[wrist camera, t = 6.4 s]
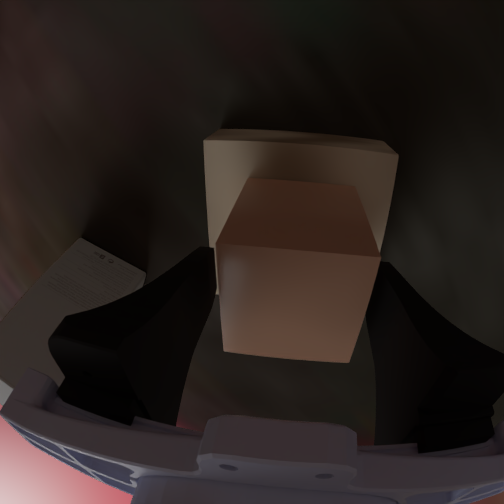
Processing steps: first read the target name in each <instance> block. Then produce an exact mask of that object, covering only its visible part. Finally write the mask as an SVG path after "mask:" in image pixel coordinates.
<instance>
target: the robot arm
mask: <svg viewBox="0 0 504 504" xmlns="http://www.w3.org/2000/svg"><path fill="white" fill-rule="evenodd" d="M216 290H217V279H216V265H215V251H214V248H212V247H199V248H197V249H196V250H195V251H193V252H192V253H191V254H189V255H188V256H187V257H186V258H184V259H183V260H182V261H180V262H179V263H178V264H176V265H175V266H174V267H172V268H171V269H170V270H168V271H167V272H165V273H164V274H162V275H161V276H159V277H158V278H157V279H155V280H154V281H152V282H150V283H149V284H147V285H145V286H144V287H142V288H140V289H138V290H136V291H135V292H133V293H131V294H128V295H126V296H124V297H122V298H120V299H117V300H115V301H113V302H110V303H108V304H105V305H102V306H99V307H96V308H93V309H90V310H87V311H83V312H79V313H75V314H71V315H66V316H65V317H64V319H63V320H62V321H61V323H60V324H59V325H58V327H57V328H56V329H55V331H54V332H53V333H52V335H51V336H50V337H49V340H48V347H49V351H50V353H51V355H52V357H53V359H54V360H55V362H56V363H57V365H58V367H59V368H60V370H61V371H62V373H63V374H64V376H65V378H64V380H63V382H62V383H61V385H60V387H58V385H57V384H56V382H55V381H54V380H53V379H52V378H51V377H49V376H48V375H46V374H44V373H41V372H39V371H37V370H34V369H32V368H27V369H26V371H25V372H24V374H23V375H22V377H21V378H20V380H19V381H18V383H17V385H16V386H15V388H14V389H13V391H12V392H11V394H10V396H9V397H8V399H7V400H6V402H5V404H4V405H3V407H2V409H1V410H0V415H1V416H2V417H3V419H5V421H7V422H8V423H9V424H10V425H11V426H12V427H13V428H14V429H15V430H16V431H17V432H18V433H19V434H20V435H21V436H22V437H23V438H24V439H26V440H27V441H28V442H29V443H30V444H31V445H33V446H35V447H36V448H38V449H40V450H41V451H43V452H45V453H47V454H48V455H50V456H52V457H54V458H56V459H57V460H59V461H61V462H63V463H65V464H67V465H69V466H70V467H72V468H74V469H76V470H78V471H80V472H82V473H84V474H86V475H88V476H90V477H92V478H94V479H96V480H99V481H101V482H103V483H105V484H107V485H109V486H112V487H114V488H116V489H119V490H121V491H124V492H126V493H128V494H131V495H133V498H132V501H131V504H469V503H472V502H475V501H478V500H481V499H484V498H487V497H490V496H493V495H496V494H498V493H501V492H503V491H504V420H503V421H501V422H500V423H498V424H497V425H496V426H495V427H494V428H493V425H492V421H491V417H492V416H493V415H494V410H493V406H492V405H493V404H494V403H495V402H496V401H497V399H498V398H499V397H500V396H501V395H502V394H503V393H504V354H503V353H501V352H499V351H497V350H495V349H493V348H490V347H488V346H486V345H484V344H483V343H481V342H479V341H477V340H476V339H474V338H472V337H471V336H469V335H467V334H466V333H464V332H463V331H462V330H460V329H459V328H457V327H456V326H454V325H453V324H452V323H450V322H449V321H448V320H447V319H445V318H444V317H443V316H442V315H441V314H439V313H438V312H437V311H436V310H435V309H434V308H432V307H431V306H430V305H429V304H428V303H427V302H426V301H425V300H424V299H423V298H422V297H421V296H420V295H419V294H418V293H417V292H416V291H415V290H414V289H413V287H412V286H411V285H410V284H409V283H408V282H407V281H406V280H405V279H404V278H403V277H402V275H401V274H400V273H399V272H398V271H397V270H396V269H395V268H394V267H393V266H392V265H391V264H390V263H389V262H382V261H380V264H379V268H378V271H377V275H376V279H375V282H374V286H373V289H372V293H371V296H370V300H369V303H368V306H367V310H366V322H367V328H368V333H369V338H370V343H371V348H372V354H373V359H374V365H375V375H376V426H375V440H374V446H357V433H356V432H354V431H353V430H351V429H349V428H348V427H346V426H344V425H339V424H332V423H321V422H303V421H289V420H278V419H268V418H259V417H251V416H243V415H221V416H218V417H215V418H212V419H209V420H208V422H207V424H206V427H205V430H204V432H199V431H194V430H189V429H185V428H180V427H176V422H177V416H178V411H179V407H180V402H181V398H182V393H183V389H184V385H185V381H186V377H187V373H188V369H189V366H190V362H191V359H192V355H193V353H194V350H195V347H196V345H197V342H198V340H199V337H200V335H201V333H202V330H203V328H204V325H205V323H206V321H207V318H208V316H209V313H210V311H211V308H212V305H213V302H214V298H215V294H216Z"/></svg>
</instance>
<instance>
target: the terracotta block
mask: <svg viewBox="0 0 504 504" xmlns="http://www.w3.org/2000/svg"><path fill="white" fill-rule="evenodd" d="M215 244H216V259H217V274H218V287H219V300H220V313H221V325H222V336H223V347H224V351H226V352H233V353H241V354H249V355H257V356H266V357H276V358H286V359H298V360H310V361H325V362H342V363H349V361H350V358H351V355H352V352H353V349H354V346H355V344H356V341H357V338H358V335H359V332H360V329H361V326H362V322H363V319H364V316H365V313H366V310H367V306H368V303H369V300H370V296H371V293H372V289H373V286H374V282H375V279H376V275H377V271H378V268H379V264H380V260H381V256H380V253H379V250H378V247H377V244H376V241H375V238H374V235H373V232H372V230H371V227H370V224H369V221H368V219H367V216H366V213H365V211H364V208H363V205H362V203H361V200H360V198H359V195H358V192H357V190H356V187H355V186H346V185H337V184H326V183H315V182H304V181H291V180H277V179H261V178H248V179H247V181H246V183H245V184H244V186H243V188H242V190H241V192H240V194H239V196H238V198H237V200H236V202H235V204H234V206H233V208H232V210H231V212H230V214H229V217H228V219H227V221H226V223H225V225H224V227H223V229H222V231H221V233H220V235H219V237H218V239H217V241H216V243H215Z"/></svg>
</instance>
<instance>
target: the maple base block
mask: <svg viewBox="0 0 504 504" xmlns="http://www.w3.org/2000/svg"><path fill="white" fill-rule="evenodd" d="M203 141H204V164H205V183H206V200H207V216H208V231H209V245H210V247H212V248H214V251H215V265H216V279H217V290H216V294H219V287H218V274H217V259H216V244H215V243H216V241H217V239H218V237H219V235H220V233H221V231H222V229H223V227H224V225H225V223H226V221H227V219H228V217H229V214H230V212H231V210H232V208H233V206H234V204H235V202H236V200H237V198H238V196H239V194H240V192H241V190H242V188H243V186H244V184H245V183H246V181H247V179H248V178H261V179H277V180H291V181H304V182H315V183H326V184H337V185H346V186H355V187H356V190H357V192H358V195H359V198H360V200H361V203H362V205H363V208H364V211H365V213H366V216H367V219H368V221H369V224H370V227H371V230H372V232H373V235H374V238H375V241H376V244H377V247H378V250H379V253H380V250H381V246H382V241H383V237H384V233H385V228H386V223H387V219H388V214H389V209H390V204H391V199H392V193H393V188H394V182H395V176H396V170H397V164H398V157H399V155H398V154H397V153H396V152H395V151H394V150H393V149H392V148H391V147H389V146H388V145H387V144H386V143H385V142H384V141H379V140H372V139H365V138H357V137H349V136H340V135H330V134H320V133H308V132H294V131H278V130H254V129H219V130H217V131H216V132H215V133H213V134H212V135H210V136H209V137H208V138H206V139H205V140H203Z"/></svg>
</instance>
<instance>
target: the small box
mask: <svg viewBox="0 0 504 504" xmlns="http://www.w3.org/2000/svg"><path fill="white" fill-rule="evenodd" d="M145 277H146V273H145V272H144V271H142V270H140V269H138V268H136V267H134V266H133V265H131V264H129V263H127V262H125V261H123V260H121V259H119V258H118V257H116V256H114V255H112V254H110V253H108V252H106V251H105V250H103V249H101V248H99V247H97V246H95V245H93V244H92V243H90V242H88V241H86V240H84V239H83V238H79V239H78V240H77V241H76V242H75V243H74V244H72V245H71V246H70V247H69V248H68V249H67V250H66V251H65V252H64V253H63V254H62V255H61V256H60V257H59V258H58V259H57V260H56V261H55V262H54V263H53V264H52V265H51V266H50V267H49V268H48V270H47V271H46V272H45V273H44V274H43V275H42V276H41V277H40V278H39V279H38V280H37V281H36V282H35V283H34V284H33V285H32V286H31V288H30V289H29V290H28V291H27V292H26V293H25V294H24V295H23V296H22V297H21V299H20V300H19V301H18V302H17V303H16V304H15V305H14V307H13V308H12V309H11V310H10V311H9V312H8V314H7V315H6V316H5V317H4V318H3V320H2V321H1V322H0V403H1V405H4V404H5V402H6V400H7V399H8V397H9V396H10V394H11V392H12V391H13V389H14V388H15V386H16V385H17V383H18V381H19V380H20V378H21V377H22V375H23V374H24V372H25V371H26V369H27V368H32V369H34V370H37V371H39V372H41V373H44V374H46V375H48V376H49V377H51V378H52V379H53V380H54V381H55V382H56V384H57V385H58V387H60V385H61V383H62V382H63V380H64V378H65V376H64V374H63V373H62V371H61V370H60V368H59V367H58V365H57V363H56V362H55V360H54V359H53V357H52V355H51V353H50V351H49V347H48V340H49V337H50V336H51V335H52V333H53V332H54V331H55V329H56V328H57V327H58V325H59V324H60V323H61V321H62V320H63V319H64V317H65V316H66V315H71V314H75V313H79V312H83V311H87V310H90V309H93V308H96V307H99V306H102V305H105V304H108V303H110V302H113V301H115V300H117V299H120V298H122V297H124V296H126V295H128V294H131V293H133V292H135V291H136V290H138V289H140V288H142V287H143V284H144V281H145Z"/></svg>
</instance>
